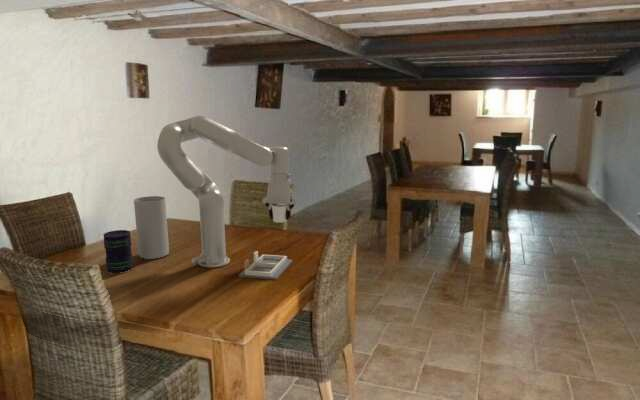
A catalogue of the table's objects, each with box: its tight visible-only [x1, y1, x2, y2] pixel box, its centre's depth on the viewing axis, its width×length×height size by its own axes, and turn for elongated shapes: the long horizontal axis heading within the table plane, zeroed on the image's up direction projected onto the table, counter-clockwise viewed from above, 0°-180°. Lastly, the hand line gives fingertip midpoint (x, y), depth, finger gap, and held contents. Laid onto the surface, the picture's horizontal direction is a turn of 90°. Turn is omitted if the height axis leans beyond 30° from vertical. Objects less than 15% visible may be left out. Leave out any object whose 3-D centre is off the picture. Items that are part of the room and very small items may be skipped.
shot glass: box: [272, 204, 288, 223], centre depth 197 cm, size 7×7×7 cm
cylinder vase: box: [133, 195, 170, 260], centre depth 200 cm, size 12×12×25 cm
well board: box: [238, 250, 293, 281], centre depth 185 cm, size 21×15×5 cm
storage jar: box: [103, 229, 134, 274], centre depth 184 cm, size 10×10×15 cm
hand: (280, 218), depth 197 cm, fingers closed on shot glass, 6 cm apart
